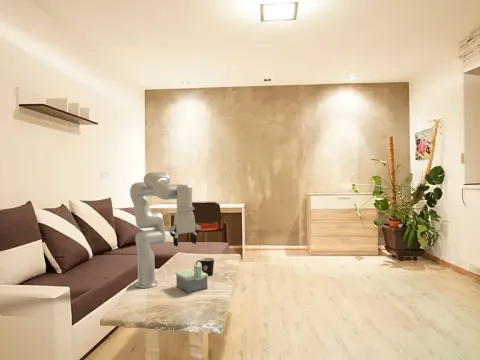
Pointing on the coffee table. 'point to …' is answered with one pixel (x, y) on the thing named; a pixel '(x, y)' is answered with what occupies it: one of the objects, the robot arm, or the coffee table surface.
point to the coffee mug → (207, 265)
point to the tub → (191, 284)
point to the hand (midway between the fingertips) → (185, 244)
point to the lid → (192, 274)
